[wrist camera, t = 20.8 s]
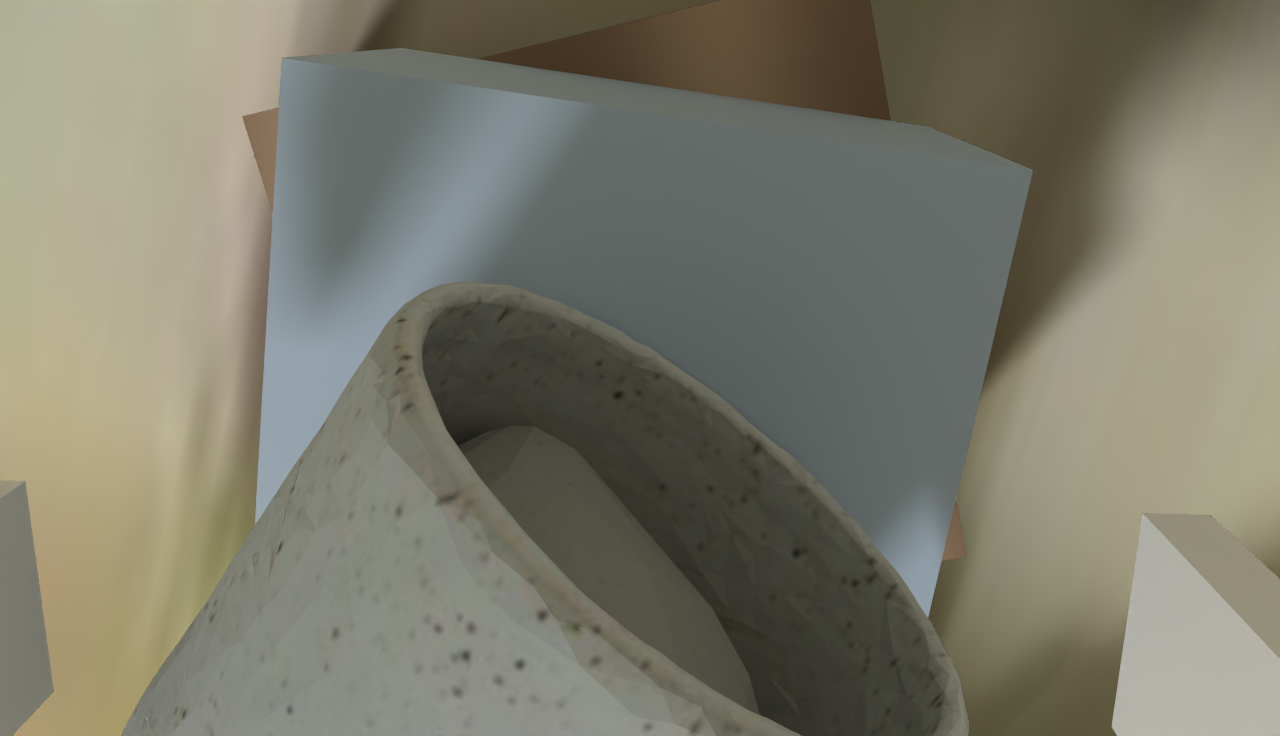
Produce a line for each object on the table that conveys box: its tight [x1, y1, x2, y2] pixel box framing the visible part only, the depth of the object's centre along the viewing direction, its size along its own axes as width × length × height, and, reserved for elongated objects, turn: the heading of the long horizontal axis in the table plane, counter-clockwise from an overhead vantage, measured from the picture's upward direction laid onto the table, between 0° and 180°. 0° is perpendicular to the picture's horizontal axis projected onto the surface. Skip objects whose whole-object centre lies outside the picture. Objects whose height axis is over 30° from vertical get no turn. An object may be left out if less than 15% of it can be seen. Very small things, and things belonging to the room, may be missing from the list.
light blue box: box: [255, 48, 1033, 617], centre depth 20 cm, size 10×10×7 cm
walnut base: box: [242, 0, 966, 561], centre depth 27 cm, size 12×12×6 cm
